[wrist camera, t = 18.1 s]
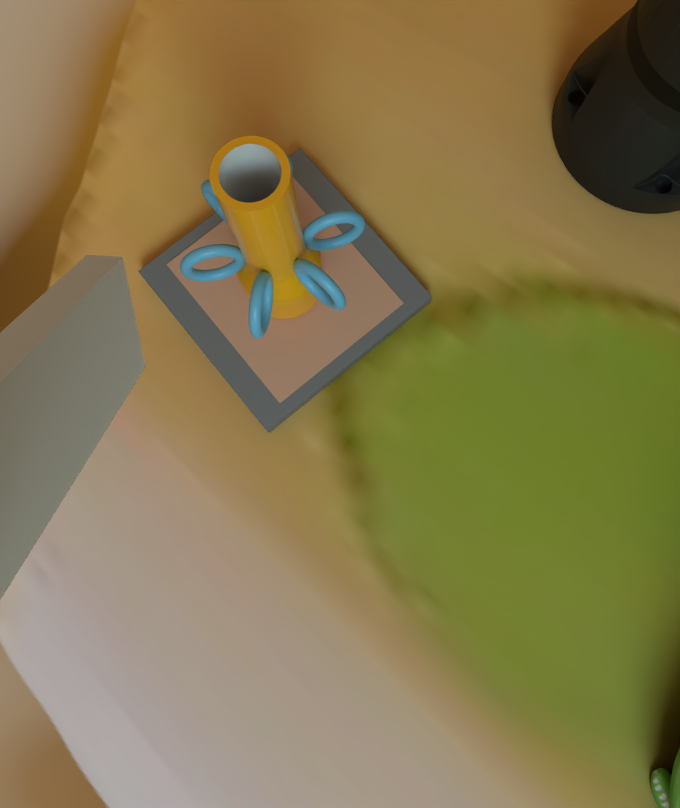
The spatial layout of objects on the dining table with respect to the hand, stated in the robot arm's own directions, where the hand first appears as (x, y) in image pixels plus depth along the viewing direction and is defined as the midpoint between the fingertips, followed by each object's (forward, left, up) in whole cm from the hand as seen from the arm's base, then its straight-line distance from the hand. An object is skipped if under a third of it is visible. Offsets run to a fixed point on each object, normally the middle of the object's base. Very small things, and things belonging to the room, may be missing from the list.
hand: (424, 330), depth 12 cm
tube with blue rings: (-2, -13, -29) cm, 32 cm away
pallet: (-2, -13, -30) cm, 33 cm away
